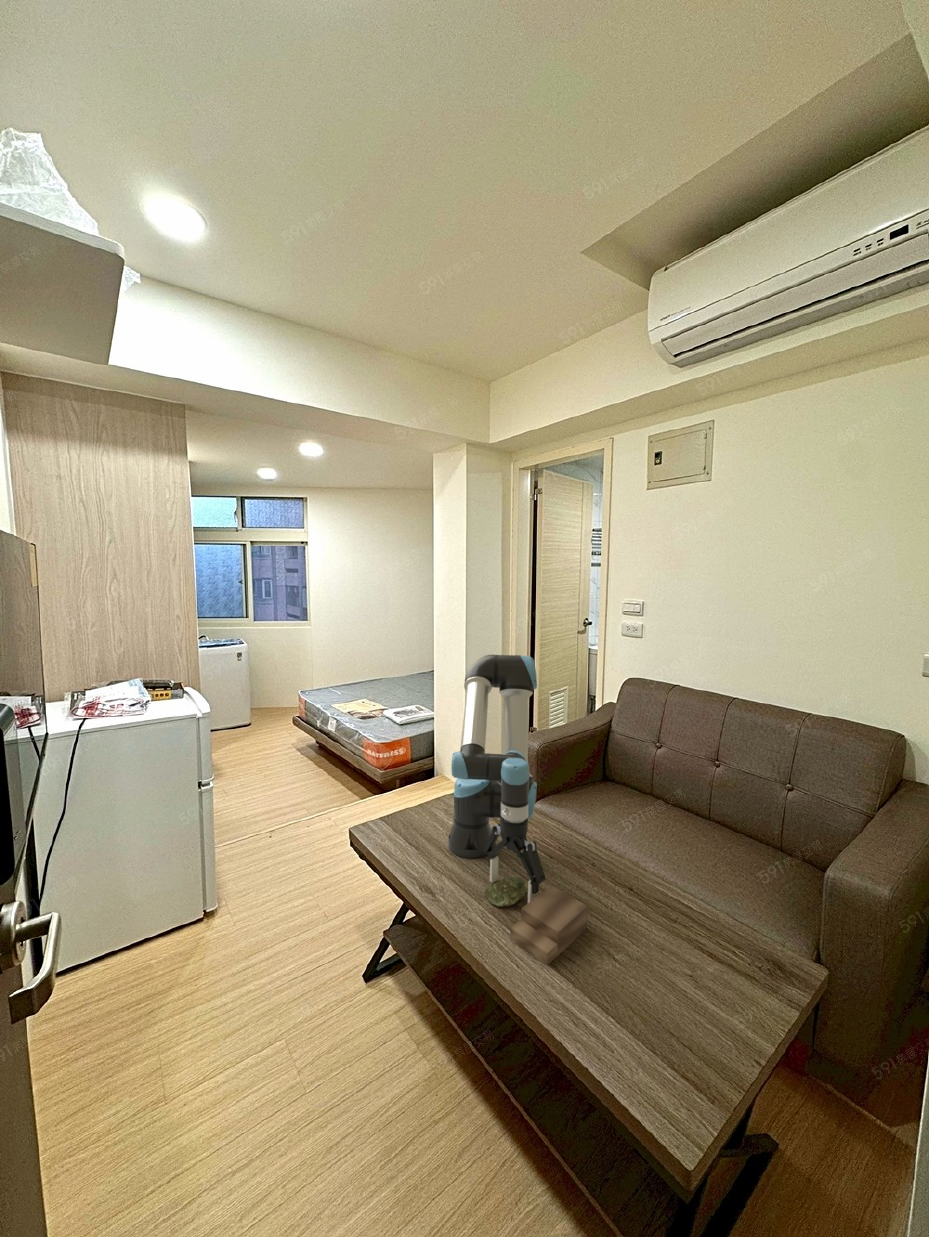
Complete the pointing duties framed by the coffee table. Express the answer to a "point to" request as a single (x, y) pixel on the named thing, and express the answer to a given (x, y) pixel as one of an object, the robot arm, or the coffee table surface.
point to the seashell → (506, 891)
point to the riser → (549, 924)
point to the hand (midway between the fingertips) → (512, 891)
